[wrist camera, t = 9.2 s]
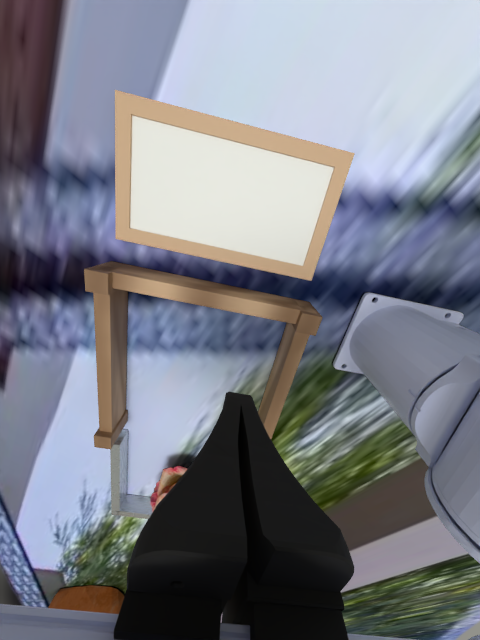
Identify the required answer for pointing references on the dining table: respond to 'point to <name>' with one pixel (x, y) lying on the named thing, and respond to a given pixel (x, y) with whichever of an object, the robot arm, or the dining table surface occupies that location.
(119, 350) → the wooden frame
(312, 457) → the dining table surface
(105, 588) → the bread
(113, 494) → the stand tray
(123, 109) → the frame lid
